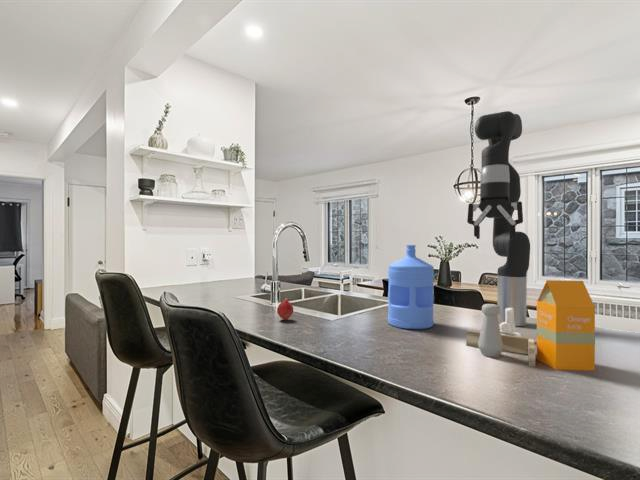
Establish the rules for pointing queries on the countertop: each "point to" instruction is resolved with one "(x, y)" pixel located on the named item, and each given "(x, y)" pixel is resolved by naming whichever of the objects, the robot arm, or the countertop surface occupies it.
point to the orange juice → (566, 326)
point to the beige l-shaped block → (508, 344)
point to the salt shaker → (490, 332)
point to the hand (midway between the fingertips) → (494, 238)
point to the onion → (285, 309)
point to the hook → (509, 324)
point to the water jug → (410, 292)
